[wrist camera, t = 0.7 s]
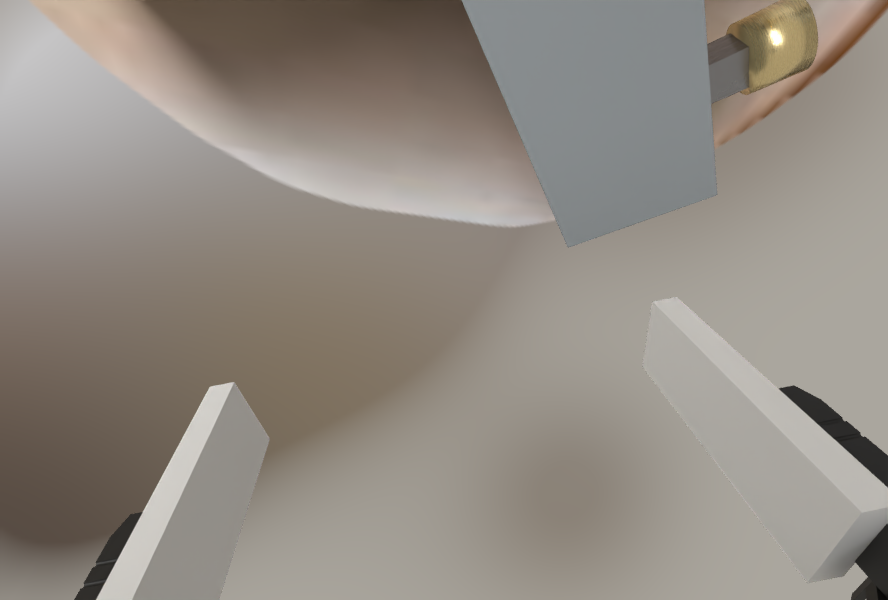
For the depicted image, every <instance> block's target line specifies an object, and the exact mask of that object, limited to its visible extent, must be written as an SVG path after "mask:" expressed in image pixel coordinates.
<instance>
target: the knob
mask: <svg viewBox="0 0 888 600" xmlns="http://www.w3.org/2000/svg"><path fill="white" fill-rule="evenodd" d="M817 45H818V32H817V25H816V20H815V17H814V14H813V11H812V9H811V7H810V5H809V4H808V2H807V1H806V0H780V1H778V2H776V3H774V4H772V5H770V6H768V7H766V8H764V9H762V10H760V11H758V12H756V13H754V14H752V15H750V16H748V17H745V18H743V19H741V20H739V21H737V22H735V23H733V24H731V25H730V26H729V28H728V30H727V33H726V36H724V37H722V38H719V39H717V40H715V41H713V42H711V43H709V44H707V50H708V64H709V79H710V94H711V104H712V103H714V102H716V101H719V100H721V99H723V98H726V97H728V96H730V95H733V94H735V93H737V92H741V93H742V94H744V95H748V94H751V93H753V92H755V91H758V90H760V89H762V88H765V87H767V86H769V85H772V84H774V83H776V82H779V81H781V80H784V79H786V78H788V77H791V76H793V75H795V74H798V73H800V72H802V71H805V70H807V69H808V68H809V67H810V66H811V65H812V63H813V61H814V59H815V56H816V52H817Z"/></svg>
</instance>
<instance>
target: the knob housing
mask: <svg viewBox="0 0 888 600" xmlns="http://www.w3.org/2000/svg"><path fill="white" fill-rule="evenodd" d="M462 3H463V5H464V7H465V10H466V12H467V14H468V16H469V19H470V21H471V23H472V26H473V28H474V30H475V33H476V35H477V37H478V40H479V42H480V44H481V47H482V49H483V51H484V54H485V56H486V58H487V61H488V63H489V65H490V68H491V70H492V72H493V75H494V77H495V79H496V82H497V84H498V86H499V89H500V91H501V93H502V95H503V98H504V100H505V102H506V105H507V107H508V109H509V112H510V114H511V116H512V119H513V121H514V123H515V126H516V128H517V130H518V133H519V135H520V137H521V140H522V142H523V144H524V147H525V149H526V151H527V154H528V156H529V158H530V161H531V163H532V165H533V168H534V170H535V172H536V175H537V177H538V179H539V181H540V184H541V186H542V188H543V191H544V193H545V195H546V198H547V200H548V202H549V205H550V207H551V209H552V212H553V214H554V216H555V219H556V221H557V223H558V226H559V228H560V230H561V233H562V235H563V237H564V240H565V242H566V244H567V246H568V247H571V246H574V245H577V244H579V243H582V242H585V241H588V240H591V239H594V238H597V237H599V236H602V235H605V234H608V233H610V232H613V231H616V230H619V229H622V228H625V227H628V226H631V225H633V224H636V223H639V222H642V221H645V220H647V219H650V218H653V217H656V216H659V215H662V214H665V213H668V212H670V211H673V210H676V209H679V208H682V207H685V206H687V205H690V204H693V203H696V202H699V201H702V200H704V199H707V198H710V197H713V196H716V195H717V183H716V168H715V154H714V139H713V124H712V109H711V94H710V79H709V64H708V50H707V35H706V20H705V5H704V0H462Z"/></svg>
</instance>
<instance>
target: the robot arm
mask: <svg viewBox="0 0 888 600" xmlns="http://www.w3.org/2000/svg"><path fill="white" fill-rule="evenodd" d="M642 367H643V368H644V370H645V371H646V372H647V373H648V375H649V376H650V378H651V379H652V380H653V382H654V383H655V384H656V385H657V387H658V388H659V389H660V391H661V392H662V393H663V395H664V396H665V397H666V398H667V400H668V401H669V403H671V405H672V406H673V408H674V409H675V410H676V412H677V413H678V414H679V416H680V417H681V418H682V420H683V421H684V422H685V424H686V425H687V426H688V427H689V429H690V430H691V431H692V433H693V434H694V435H695V436H696V438H697V439H698V440H699V442H700V443H701V444H702V446H703V447H704V448H705V450H706V451H707V452H708V454H709V455H710V456H711V458H712V459H713V460H714V461H715V463H716V464H717V465H718V467H719V468H720V469H721V471H722V472H723V473H724V475H725V476H726V477H727V479H728V480H729V481H730V483H731V484H732V485H733V486H734V488H735V489H736V490H737V492H738V493H739V494H740V496H741V497H742V498H743V500H744V501H745V502H746V503H747V505H748V506H749V507H750V509H751V510H752V511H753V513H754V514H755V515H756V517H757V518H758V519H759V521H760V522H761V523H762V525H763V526H764V527H765V528H766V530H767V531H768V532H769V534H770V535H771V536H772V538H773V539H774V540H775V541H776V543H777V544H778V545H779V547H780V548H781V549H782V551H783V552H784V553H785V555H786V556H787V557H788V559H789V560H790V561H791V563H792V564H793V565H794V566H795V568H796V569H797V570H798V572H799V573H800V574H801V576H802V577H803V578H804V580H805V581H806V582H807V583H811V582H816V581H821V580H826V579H832V578H837V577H842V576H844V575H845V574H846V573H847V572H848V570H849V569H850V568H851V567H852V566H853V565H854V563H855V562H856V563H857V565H858V566H859V567H860V568H861V569H862V570H863V571H864V572H865V574H866V575H867V576H868V578H867V579H866V580H865V581H864V582H863V583H862V584H861V585H860V586H859V587H858V588H857V589H856V590H855V591H854V592H853V593H852V597H851V600H865V599H867V600H888V455H886V454H885V453H884V452H883V451H882V450H880V449H879V448H878V447H877V446H876V445H874V444H873V443H872V442H871V441H869V439H867V438H866V437H862V436H861V435H860V432H859V431H858V430H857V429H855V428H854V427H853V426H852V425H851V424H849V423H848V422H847V421H843V419H842V417H841V416H840V415H839V414H838V413H836V412H835V411H834V410H833V409H832V408H830V407H829V406H828V405H827V404H826V403H824V402H823V401H822V400H821V399H819V398H817V397H815V396H813V395H811V394H809V393H808V392H805V391H804V390H802V389H800V388H798V387H796V386H790V387H784V388H779V389H778V388H777V387H776V386H775V385H774V384H773V383H771V382H770V381H769V380H768V379H767V378H766V377H765V376H764V375H763V374H761V373H760V372H759V371H758V370H757V369H756V368H755V367H754V366H753V365H751V364H750V363H749V362H748V361H747V360H746V359H745V358H744V357H743V356H741V355H740V354H739V353H738V352H737V351H736V350H735V349H734V348H732V346H730V345H729V344H728V343H727V342H726V341H725V340H724V339H723V338H722V337H721V336H719V335H718V334H717V333H716V332H715V331H714V330H713V329H712V328H711V327H709V326H708V325H707V324H706V323H705V322H704V321H703V320H702V319H700V317H698V316H697V315H696V314H695V313H694V312H693V311H692V310H691V309H690V308H688V307H687V306H686V305H685V304H684V303H683V302H682V301H681V300H680V299H678V298H677V297H674V298H668V299H663V300H658V301H653V302H652V307H651V313H650V320H649V326H648V334H647V339H646V346H645V353H644V359H643V366H642ZM269 439H270V438H269V437H268V435H267V434H266V432H265V431H264V429H263V427H262V426H261V424H260V422H259V421H258V419H257V418H256V416H255V414H254V413H253V411H252V410H251V408H250V407H249V405H248V403H247V402H246V400H245V398H244V397H243V395H242V394H241V392H240V390H239V389H238V388H237V386H236V384H235V382H233V383H227V384H222V385H217V386H212V387H210V388H209V390H208V392H207V393H206V395H205V397H204V399H203V401H202V403H201V404H200V407H199V408H198V410H197V412H196V414H195V416H194V418H193V420H192V421H191V423H190V425H189V427H188V429H187V431H186V433H185V435H184V436H183V438H182V440H181V442H180V444H179V446H178V448H177V450H176V451H175V453H174V455H173V457H172V459H171V461H170V462H169V465H168V466H167V468H166V470H165V472H164V474H163V476H162V477H161V479H160V481H159V483H158V485H157V487H156V489H155V491H154V493H153V494H152V496H151V498H150V500H149V502H148V504H147V505H146V507H145V509H144V511H143V512H141V513H135V514H131V515H130V516H129V517H128V518H127V519H126V520H125V521H124V522H123V523H122V525H121V526H120V527H119V528H118V529H117V530H116V531H115V532H114V534H113V535H112V536H111V537H110V538H109V540H108V542H107V544H106V545H105V547H104V549H103V551H102V552H101V555H100V556H99V558H98V559H97V561H96V566H95V567H93V568H92V570H91V571H90V573H89V575H88V577H87V579H86V580H85V582H84V587H83V588H82V589H80V591H79V592H78V594H77V596H76V598H75V599H74V600H219V598H220V595H221V592H222V589H223V586H224V583H225V579H226V576H227V573H228V569H229V567H230V563H231V560H232V557H233V554H234V551H235V548H236V544H237V541H238V538H239V535H240V532H241V528H242V525H243V522H244V518H245V516H246V512H247V509H248V506H249V503H250V500H251V496H252V493H253V490H254V487H255V484H256V481H257V478H258V474H259V471H260V468H261V465H262V461H263V458H264V455H265V452H266V449H267V445H268V443H269Z"/></svg>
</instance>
